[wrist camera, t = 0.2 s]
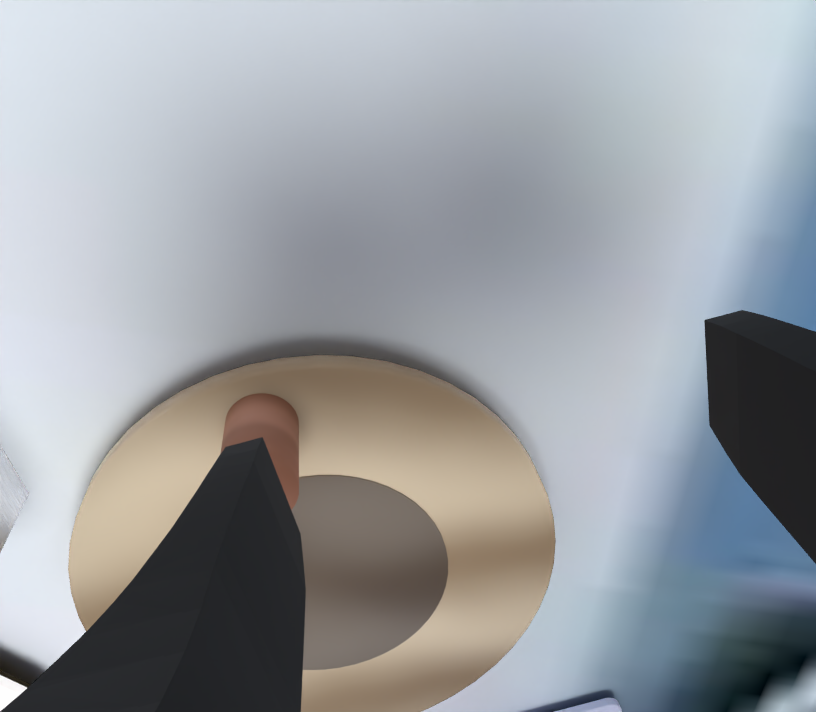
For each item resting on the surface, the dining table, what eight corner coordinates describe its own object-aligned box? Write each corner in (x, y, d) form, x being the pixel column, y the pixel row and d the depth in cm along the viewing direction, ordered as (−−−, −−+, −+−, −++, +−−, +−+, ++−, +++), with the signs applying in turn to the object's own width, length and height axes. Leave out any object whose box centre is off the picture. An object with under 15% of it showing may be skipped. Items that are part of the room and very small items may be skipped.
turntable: (573, 654, 29) (610, 748, 25) (180, 758, 29) (165, 865, 25) (509, 295, 22) (548, 361, 18) (-17, 434, 21) (-75, 524, 18)
